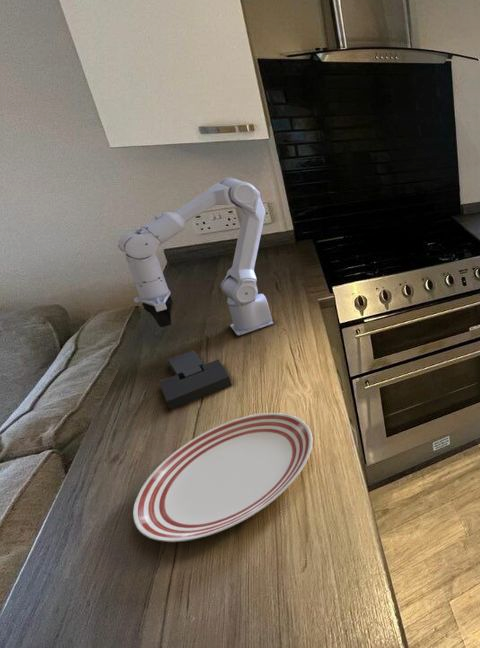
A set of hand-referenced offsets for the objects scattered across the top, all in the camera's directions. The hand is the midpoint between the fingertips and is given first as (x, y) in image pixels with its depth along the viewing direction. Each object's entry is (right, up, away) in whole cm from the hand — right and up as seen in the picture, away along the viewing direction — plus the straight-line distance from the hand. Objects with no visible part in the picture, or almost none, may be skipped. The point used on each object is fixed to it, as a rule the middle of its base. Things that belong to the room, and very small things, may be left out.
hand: (165, 325), depth 114 cm
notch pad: (+15, -13, -9) cm, 22 cm away
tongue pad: (+9, -11, -3) cm, 15 cm away
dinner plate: (+41, -23, -32) cm, 57 cm away
